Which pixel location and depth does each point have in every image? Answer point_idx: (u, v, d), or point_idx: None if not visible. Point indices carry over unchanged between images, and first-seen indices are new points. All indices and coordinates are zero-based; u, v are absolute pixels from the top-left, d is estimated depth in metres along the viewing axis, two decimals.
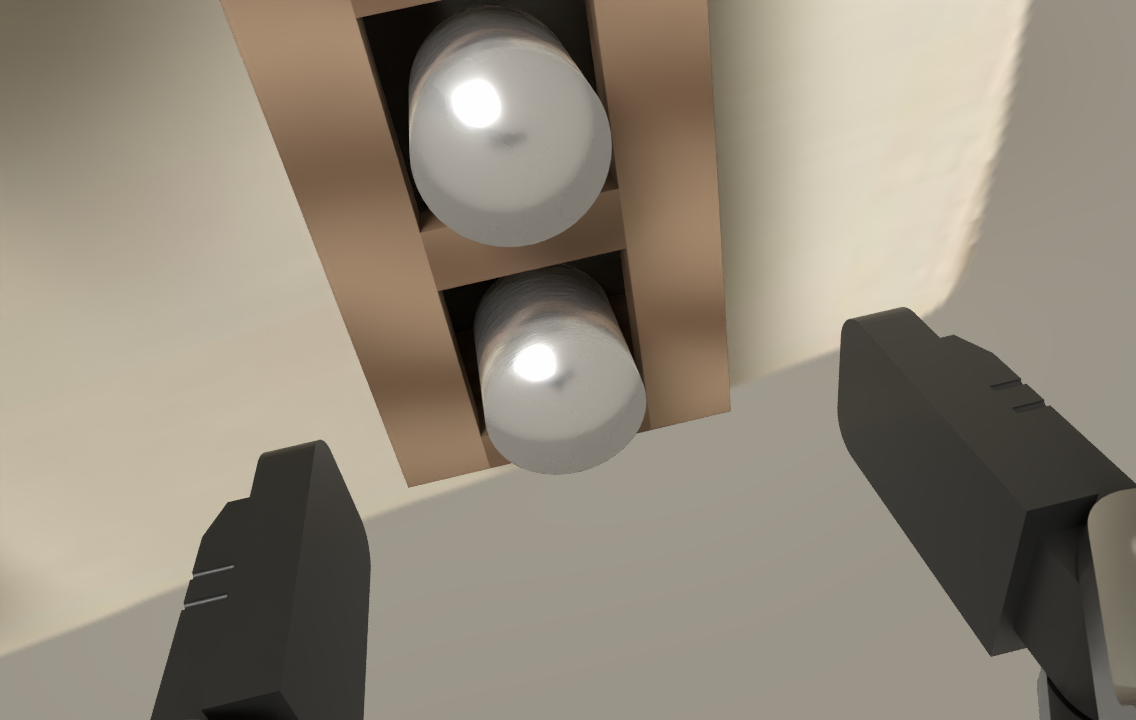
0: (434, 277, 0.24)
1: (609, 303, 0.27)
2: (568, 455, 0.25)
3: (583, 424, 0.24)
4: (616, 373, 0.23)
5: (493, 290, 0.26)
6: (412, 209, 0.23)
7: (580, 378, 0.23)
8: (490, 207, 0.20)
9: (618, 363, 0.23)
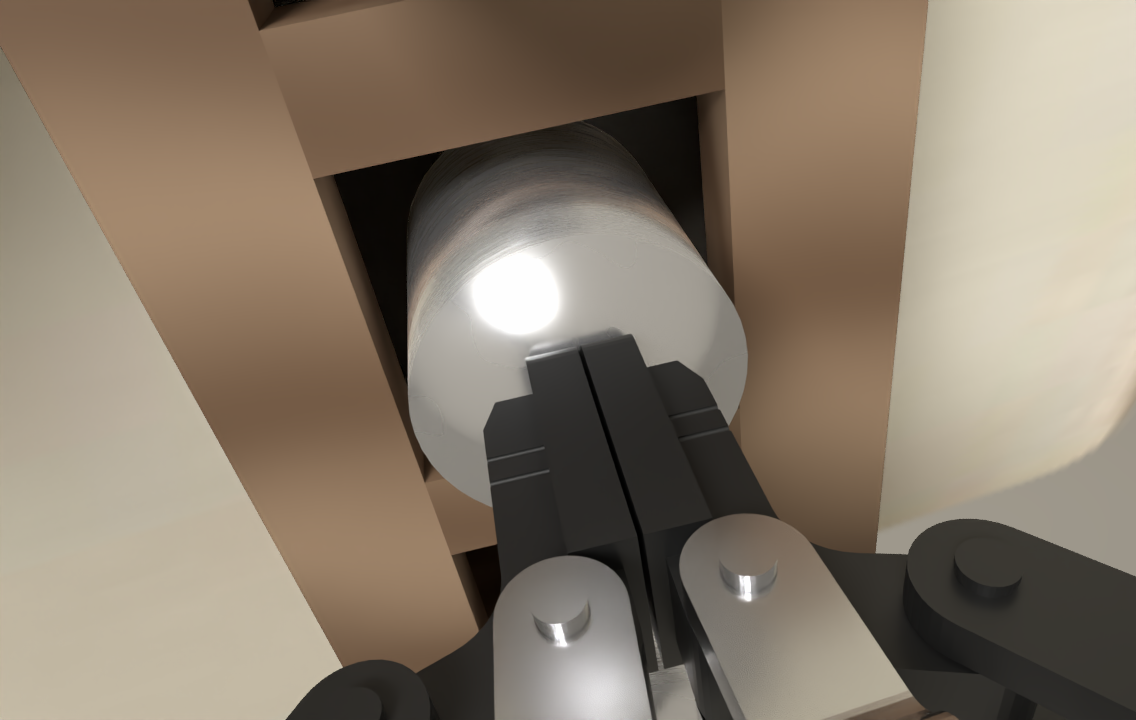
0: (447, 538, 0.16)
1: None
2: None
3: None
4: None
5: None
6: (413, 452, 0.14)
7: None
8: None
9: None
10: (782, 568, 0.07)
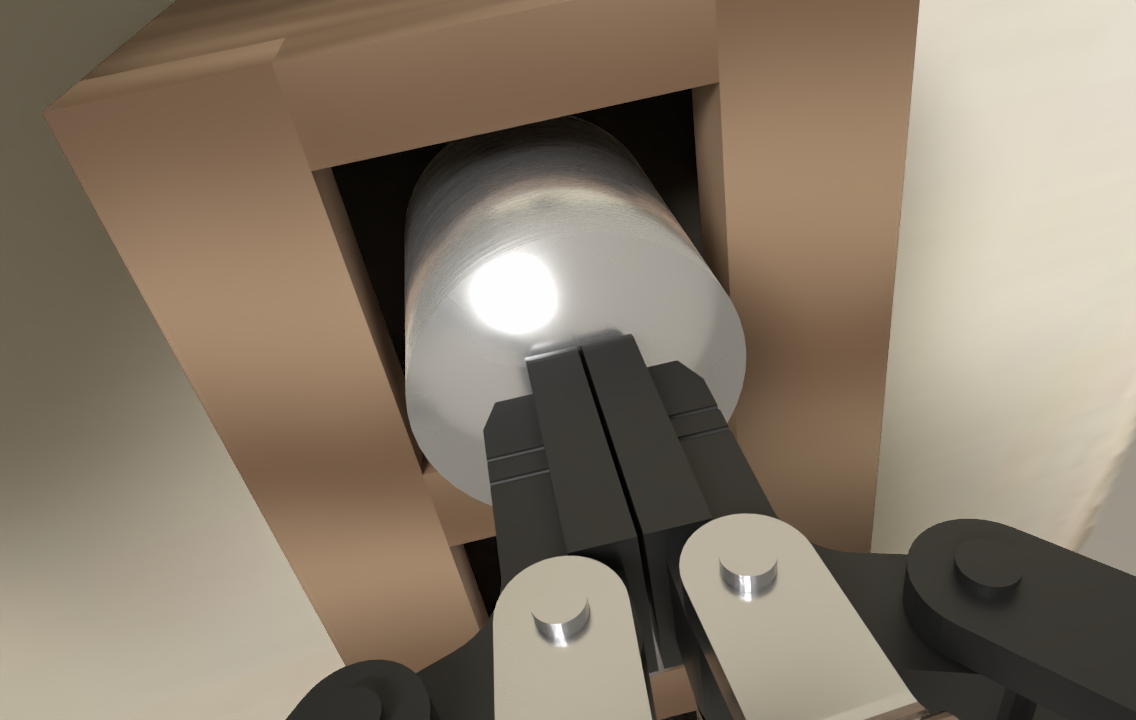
0: None
1: None
2: None
3: None
4: None
5: None
6: None
7: None
8: None
9: None
10: (782, 568, 0.07)
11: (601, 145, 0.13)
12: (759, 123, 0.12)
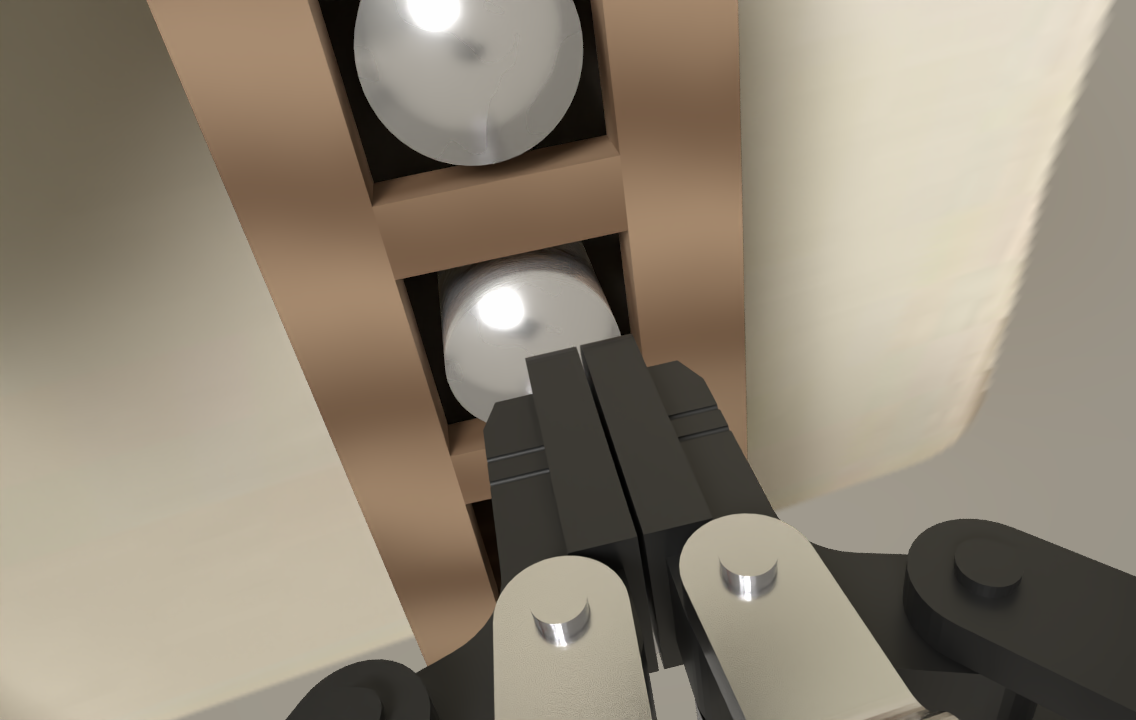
0: (462, 493, 0.24)
1: None
2: None
3: None
4: None
5: None
6: (443, 436, 0.23)
7: None
8: None
9: None
10: (782, 568, 0.07)
11: None
12: None
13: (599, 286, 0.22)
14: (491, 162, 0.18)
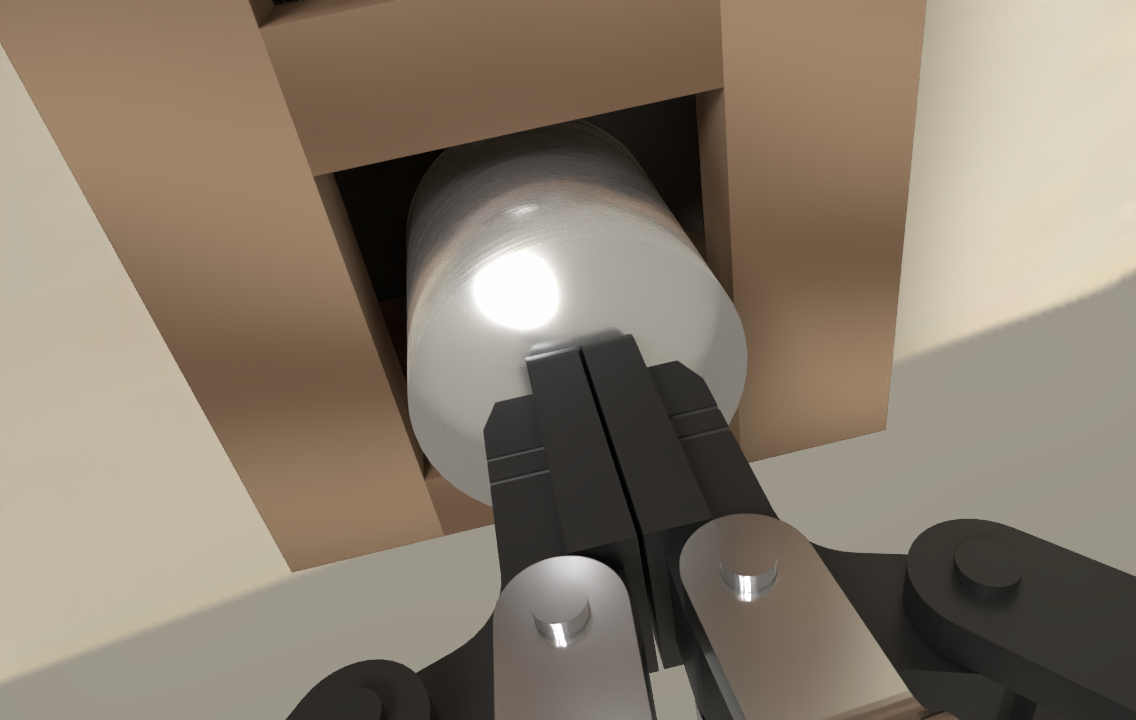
0: (303, 143, 0.11)
1: None
2: None
3: None
4: (690, 307, 0.11)
5: (439, 164, 0.14)
6: None
7: (613, 316, 0.11)
8: None
9: (696, 283, 0.11)
10: (782, 568, 0.07)
11: None
12: None
13: None
14: None
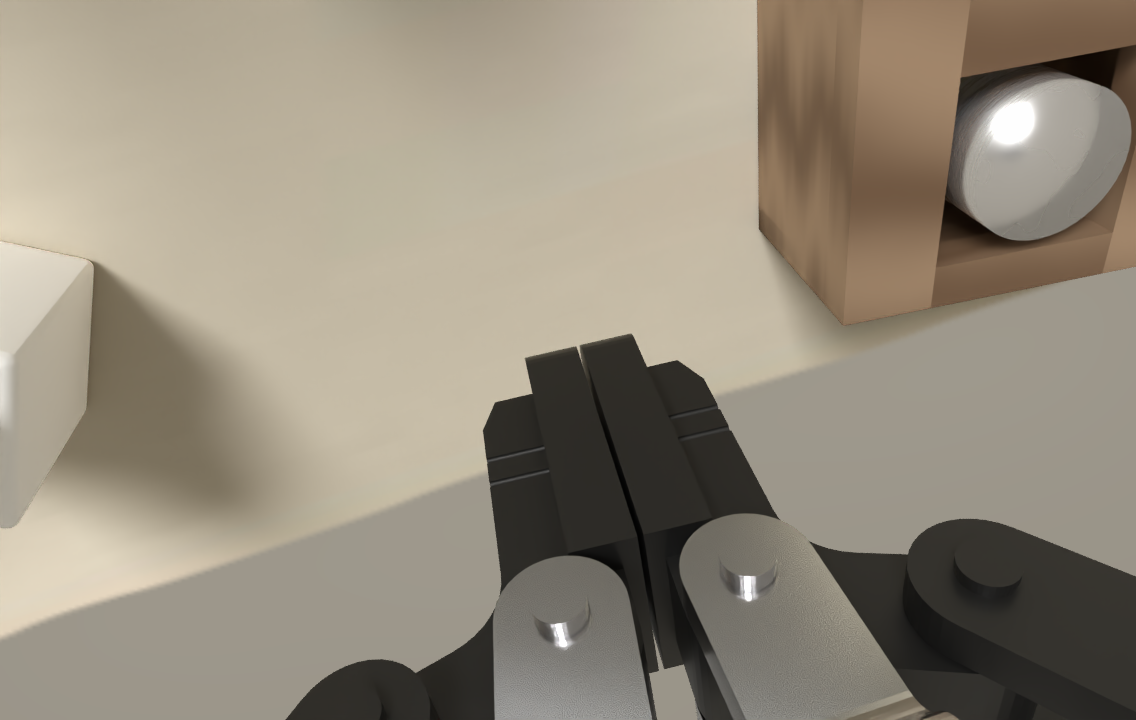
0: (964, 59, 0.22)
1: None
2: (1034, 217, 0.25)
3: (1061, 181, 0.24)
4: (1112, 122, 0.23)
5: None
6: None
7: (1079, 124, 0.23)
8: None
9: (1118, 110, 0.23)
10: (782, 568, 0.07)
11: None
12: None
13: None
14: None
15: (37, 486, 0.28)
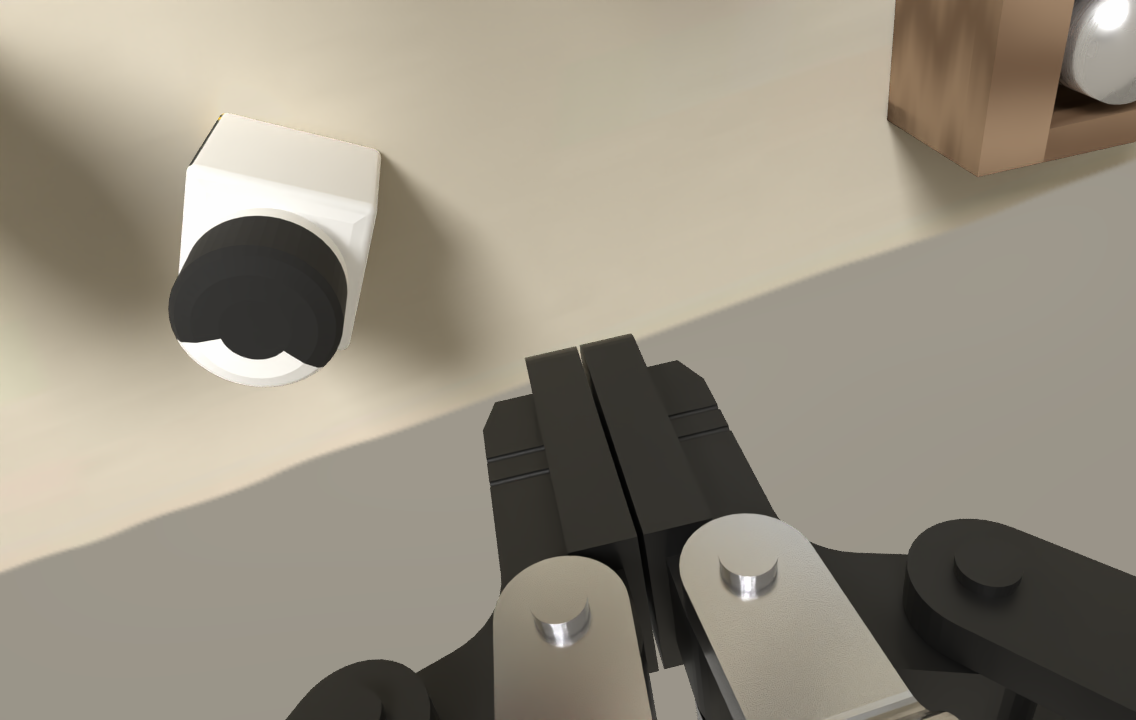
0: None
1: None
2: (1126, 85, 0.33)
3: None
4: None
5: None
6: None
7: None
8: None
9: None
10: (782, 568, 0.07)
11: None
12: None
13: None
14: None
15: None
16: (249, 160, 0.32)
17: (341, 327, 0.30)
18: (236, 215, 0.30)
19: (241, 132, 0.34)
